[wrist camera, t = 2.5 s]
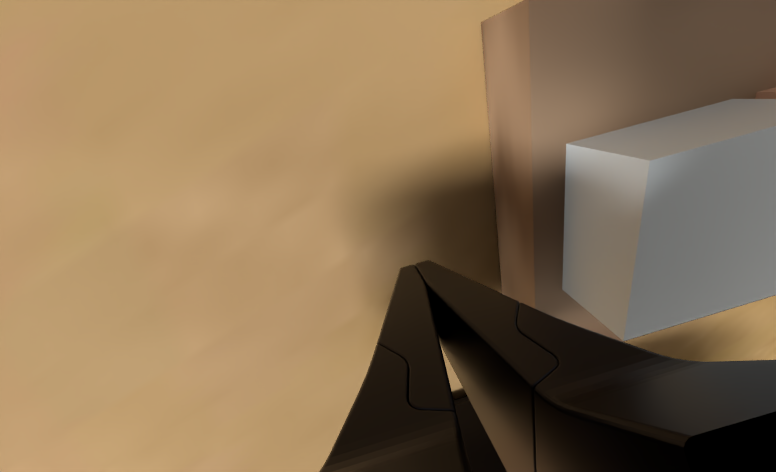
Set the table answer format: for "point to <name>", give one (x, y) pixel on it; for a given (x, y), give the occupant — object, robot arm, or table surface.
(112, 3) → the table surface
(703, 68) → the walnut board
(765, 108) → the white block
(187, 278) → the table surface
